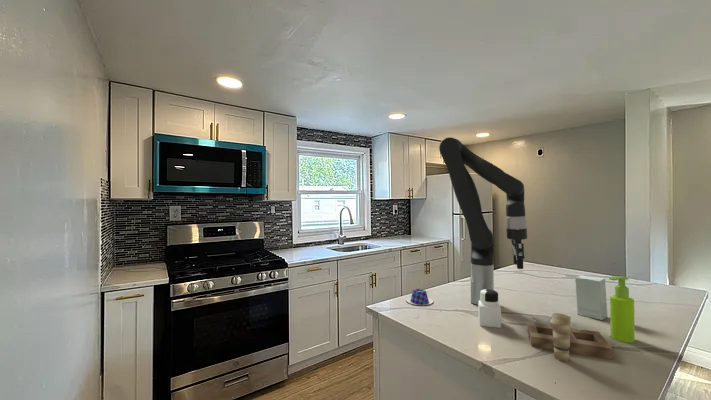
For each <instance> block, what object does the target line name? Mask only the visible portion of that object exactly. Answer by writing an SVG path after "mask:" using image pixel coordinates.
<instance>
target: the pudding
mask: <svg viewBox="0 0 711 400" xmlns="http://www.w3.org/2000/svg"><path fill="white" fill-rule="evenodd" d="M405 300H406V303H408V304H411V305H416V306H419V305H420V306H427V305H431V304H432V303H434V300H433V299H432V298H430V297H428V293H427V291H426V290H425V289H424V288H415V289H413V290H412V291H411V296H409V297H406V299H405Z"/></svg>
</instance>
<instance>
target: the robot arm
mask: <svg viewBox="0 0 711 400" xmlns="http://www.w3.org/2000/svg"><path fill="white" fill-rule="evenodd" d="M438 149H439V153H440V155H441V157H442V160H443V162H444V165H445V166H446V168H447V169H446V170H447V172H448V174H449V178H450V182H451V184H452V189H453V192H454V195H455V197H456V200H457V203H458V206H459V209H460V210H461V213H462V215H463V217H464V219H465V222H466V223H465V224H466V226H467V231H468V235H469V240H470V242H471V243H470V244H471V245H470V246H471V247H470V248H471V252H470V303H471V304H473V305H477V306H478V301H479V300H480V291H481V290H484V289H490V290H494V291H495V289H494V287H495V286H494V285H495V283H494V281H495V280H494V279H495V278H494V275H495V274H494V272H495V271H494V268H495V267H494V264H495V263H494V257H495V256H494V255H495V253H494V249H495V248H494V246H495V245H494V242H495V241H494V234H493V232H492V230H491V229H490V228H489V227H488V224H487V222H486V220H485V217H484V215H483V211H482V204H481V199H480V196H479V192H478V190H477V186H476V183H475V181H474V179H473V177H472V175H471V174H470V172H469V171H468V169H467V167H468V168H469V169H471V171H472V172H474V173H476V174H477V176H479V177H481V178H482V179H483V180H485V181H487V182H489V184H490V183H491V184H492V185H494V186H496V187H497V188H498V189H499V190H501V191H502V192H504V193H505V194H506V196H505V197H506V205H505V211H506V212H505V213H506V215H505V216H506V217H505V225H506V227H505V229H506V238H507V240H511V253H512V256H513V265H516V268H517V270H524V259H525V247H524V246H525V245H524V243H522V240H526V239H528V228H527V227H528V226H527V225H528V224H527V218H526V207H525V184H524V183H523V182H522V180H520V179H518V178H516V177H514V176H513V175H511V174H508V173H507V172H505V171H504V170H502V169H501V168H500V167H498V166H497V165H495V164H493V163H492V162H490V161H488V160H486V159H485V158H483V157H481V156H478V155H477V154H476V153H474V152H473V151H471V150H470V149H469V148H468V147H467V146H466V145H464V143H463V142H462V141H460V140H459V139H457V138H454V137H448V136H447V137H445V138H443V139H442V140H441V141H440V143H439V147H438ZM466 166H467V167H466Z"/></svg>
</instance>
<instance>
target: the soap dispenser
mask: <svg viewBox="0 0 711 400" xmlns="http://www.w3.org/2000/svg"><path fill="white" fill-rule="evenodd" d="M607 279H608V280H611V281H617V282H618V283H617V285H615V286H614V295H610V296H609V301H610V302H609V305H610V307H609V312H610V314H609V316H610V338H612V339H613V340H616V341H620V342H624V343H630V344H631V343H635V341H636V340H635V336H636V335H635V299H634V298H632V297H630V290H629V289H630V288H629V287H627V286H626V281H627V280H629V277H628V276H627V277H626V276H624V275H623V276H621V275H619V276H618V275H613V276H610V277H607Z"/></svg>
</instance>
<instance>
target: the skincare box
mask: <svg viewBox="0 0 711 400" xmlns="http://www.w3.org/2000/svg"><path fill="white" fill-rule="evenodd" d="M574 281H575V295H576V310H577V311H576V312H577V313H576V314H577V315H580V316H582V317H588V318H592V319H596V320H601V321H603V320H604V319H606V318H607V317H608V303H607V286H606V278H604V277H598V276H597V277H595V276H590V275H589V276H588V275H583V274H581V275H578V276H575V280H574Z"/></svg>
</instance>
